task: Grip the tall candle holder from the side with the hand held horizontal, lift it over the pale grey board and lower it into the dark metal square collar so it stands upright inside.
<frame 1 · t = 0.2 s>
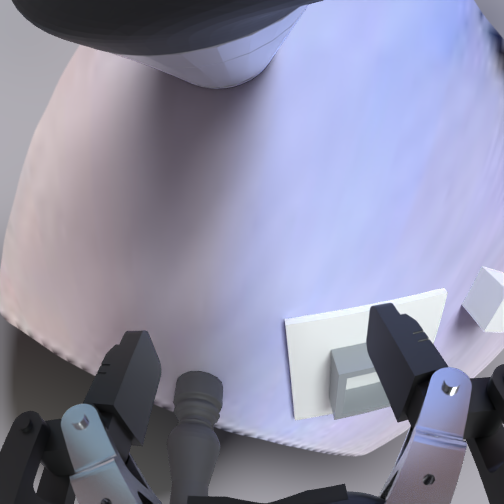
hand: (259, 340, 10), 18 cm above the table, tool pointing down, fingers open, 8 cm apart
white cube: (482, 287, 33), on the table
candle holder: (199, 384, 38), on the table
collar board: (364, 362, 37), on the table
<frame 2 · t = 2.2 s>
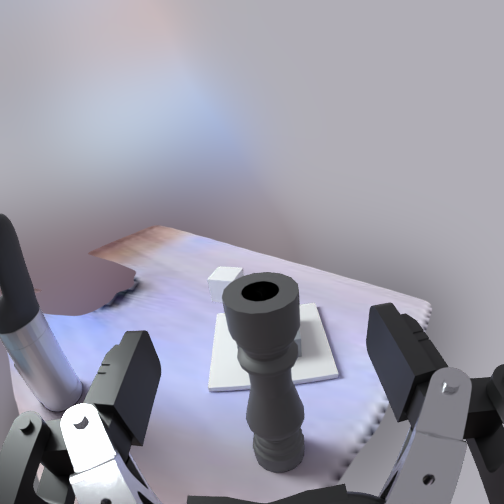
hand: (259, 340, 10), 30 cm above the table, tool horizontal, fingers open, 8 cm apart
white cube: (229, 297, 70), on the table
candle holder: (279, 453, 33), on the table
collar board: (269, 345, 53), on the table
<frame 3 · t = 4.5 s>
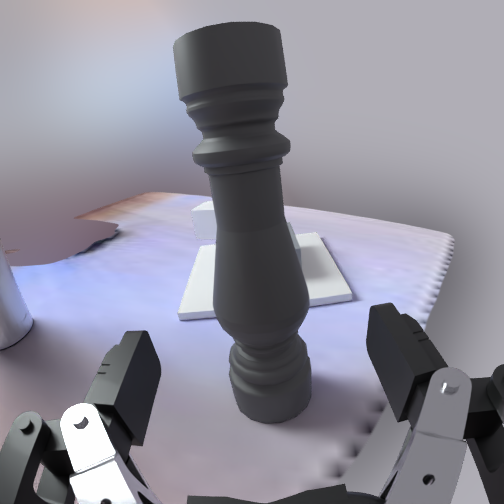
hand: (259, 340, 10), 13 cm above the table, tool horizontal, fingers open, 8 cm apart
white cube: (217, 235, 60), on the table
candle holder: (273, 395, 23), on the table
collar board: (261, 271, 43), on the table
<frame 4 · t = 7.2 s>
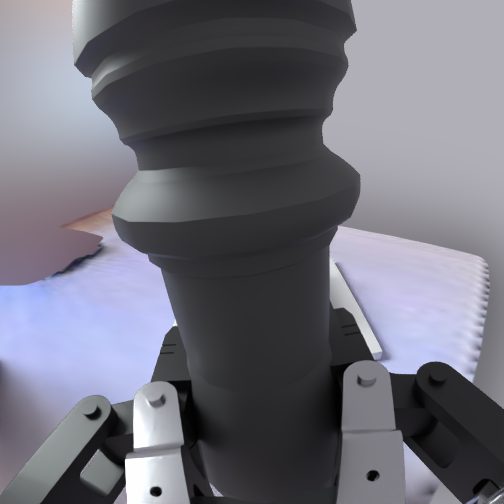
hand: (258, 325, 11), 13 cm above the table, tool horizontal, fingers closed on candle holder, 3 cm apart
collar board: (265, 312, 34), on the table
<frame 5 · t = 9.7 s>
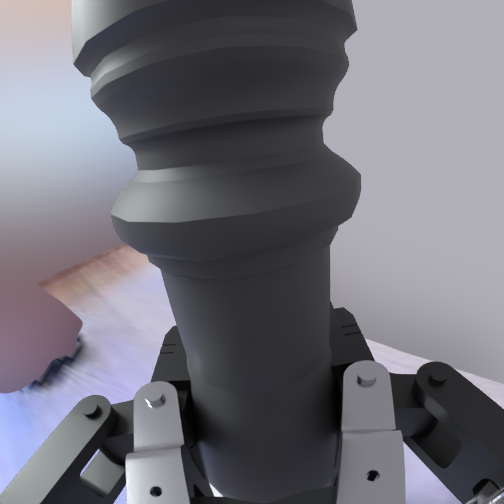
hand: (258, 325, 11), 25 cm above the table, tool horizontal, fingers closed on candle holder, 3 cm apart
when the fingers open (15 cm above the table, at t = 12.6 s): candle holder drops 1 cm, resting on collar board.
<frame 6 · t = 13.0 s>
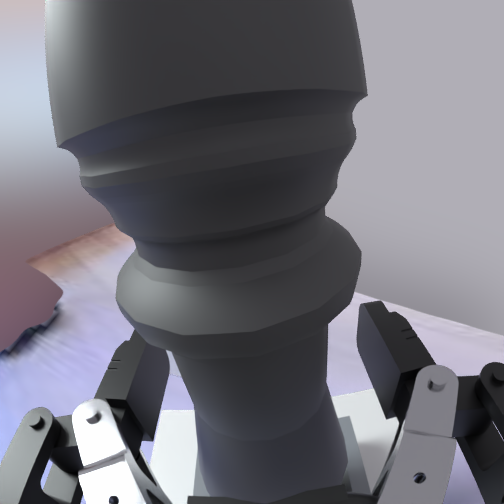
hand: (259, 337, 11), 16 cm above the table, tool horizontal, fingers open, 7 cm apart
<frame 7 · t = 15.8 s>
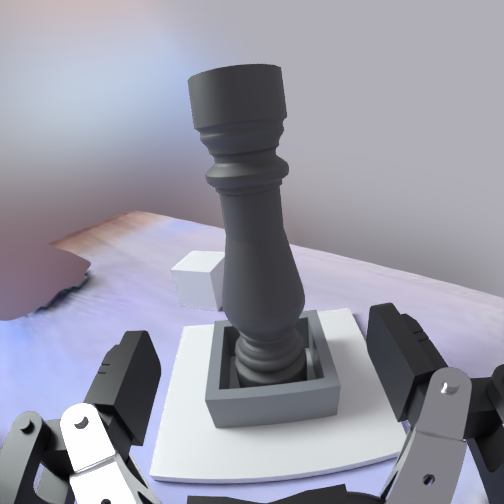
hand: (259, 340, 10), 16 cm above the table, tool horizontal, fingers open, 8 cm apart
white cube: (208, 299, 44), on the table
candle holder: (273, 383, 26), point 1 cm above the table, touching collar board
collar board: (273, 387, 27), on the table
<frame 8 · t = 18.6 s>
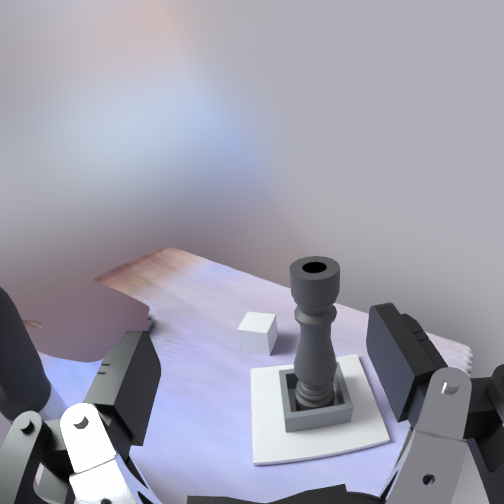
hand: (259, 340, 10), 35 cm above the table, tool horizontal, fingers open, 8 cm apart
white cube: (260, 345, 61), on the table
candle holder: (314, 405, 44), point 1 cm above the table, touching collar board
collar board: (313, 407, 45), on the table
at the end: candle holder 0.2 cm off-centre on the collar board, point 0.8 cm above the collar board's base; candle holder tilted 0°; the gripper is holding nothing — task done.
